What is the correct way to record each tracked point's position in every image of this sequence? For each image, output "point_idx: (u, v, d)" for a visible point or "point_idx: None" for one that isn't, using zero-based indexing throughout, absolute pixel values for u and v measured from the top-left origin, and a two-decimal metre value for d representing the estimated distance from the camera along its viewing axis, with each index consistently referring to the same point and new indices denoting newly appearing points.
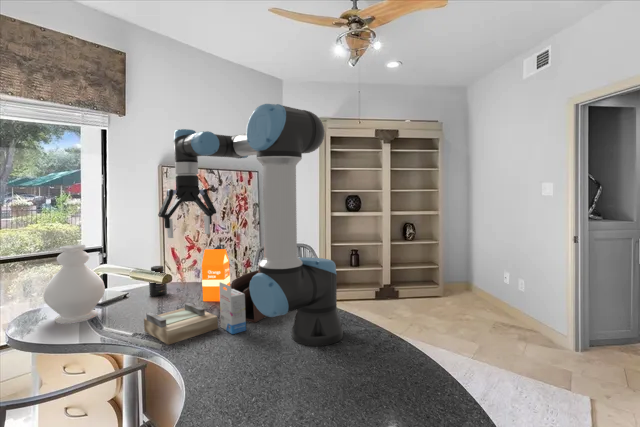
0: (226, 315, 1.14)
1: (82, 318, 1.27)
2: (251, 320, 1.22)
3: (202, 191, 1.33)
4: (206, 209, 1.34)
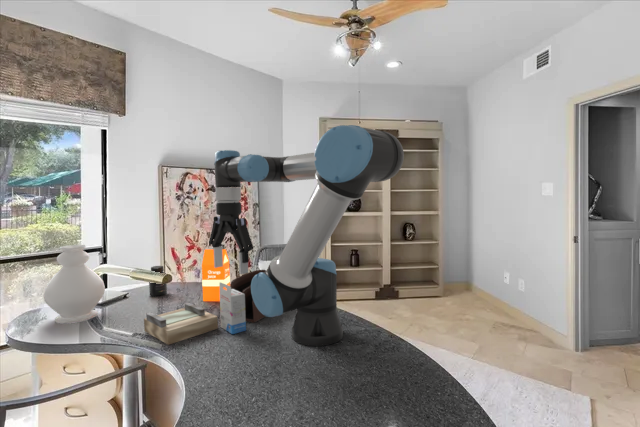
0: (226, 315, 1.14)
1: (82, 318, 1.27)
2: (250, 320, 1.22)
3: None
4: (238, 243, 1.10)
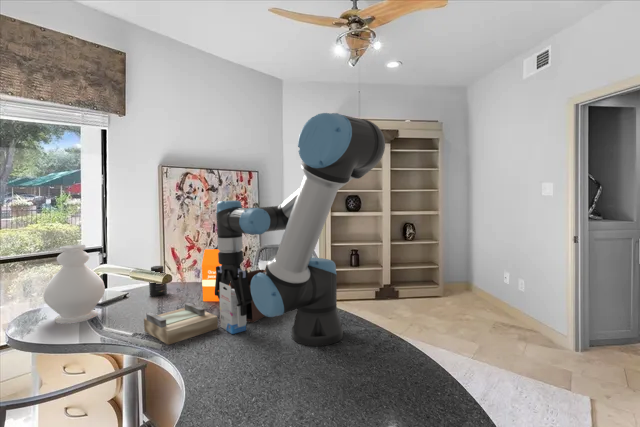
0: (226, 315, 1.14)
1: (82, 318, 1.27)
2: (249, 320, 1.22)
3: None
4: (237, 296, 1.12)
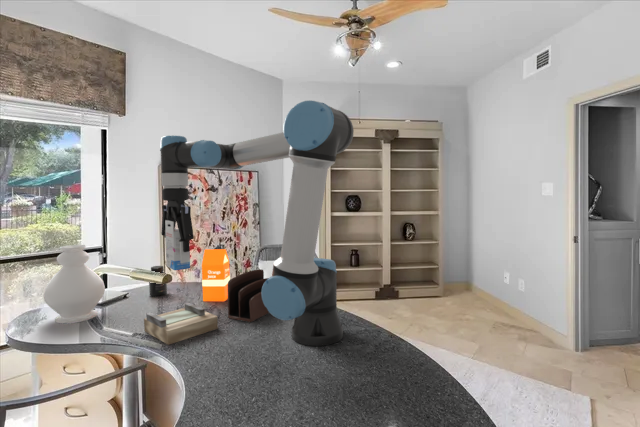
0: (170, 252, 1.13)
1: (82, 318, 1.27)
2: (247, 319, 1.23)
3: None
4: (180, 232, 1.11)
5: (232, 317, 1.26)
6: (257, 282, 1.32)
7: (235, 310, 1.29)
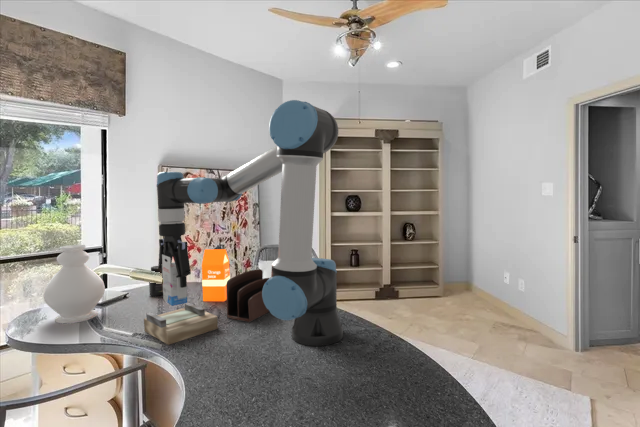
0: (167, 287, 1.13)
1: (82, 318, 1.27)
2: (246, 319, 1.23)
3: None
4: (177, 267, 1.11)
5: (231, 317, 1.26)
6: (256, 282, 1.33)
7: (234, 310, 1.29)
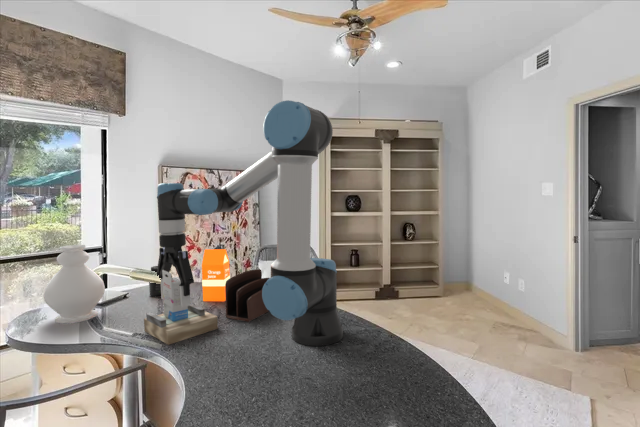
0: (168, 303, 1.14)
1: (82, 318, 1.27)
2: (245, 319, 1.23)
3: None
4: (179, 276, 1.10)
5: (230, 317, 1.26)
6: (255, 282, 1.33)
7: (233, 310, 1.29)
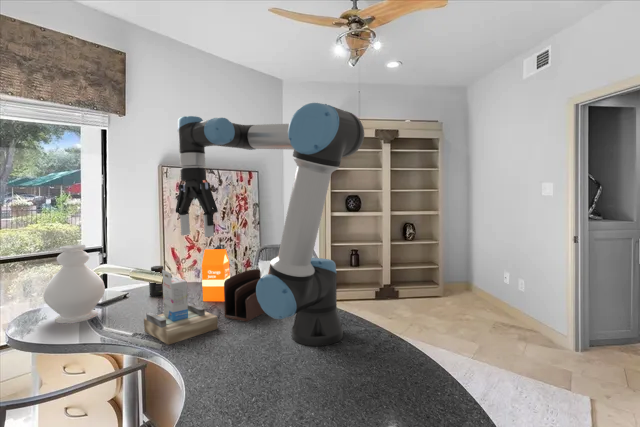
0: (168, 303, 1.14)
1: (82, 318, 1.27)
2: (244, 319, 1.23)
3: None
4: (203, 207, 1.12)
5: (228, 317, 1.26)
6: (253, 282, 1.33)
7: (231, 310, 1.30)
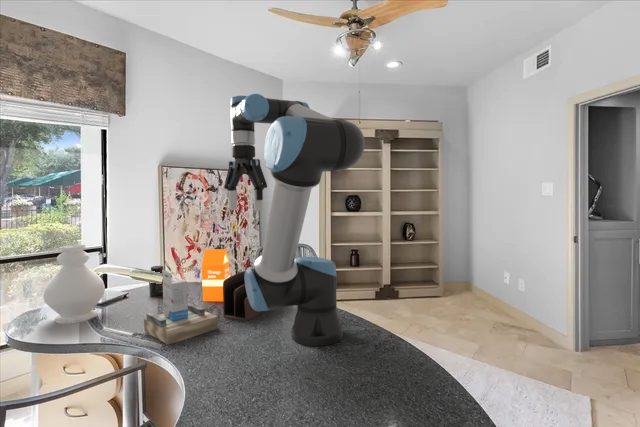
0: (168, 303, 1.14)
1: (82, 318, 1.27)
2: (242, 319, 1.23)
3: None
4: (253, 182, 1.18)
5: (227, 316, 1.26)
6: None
7: (230, 309, 1.30)
